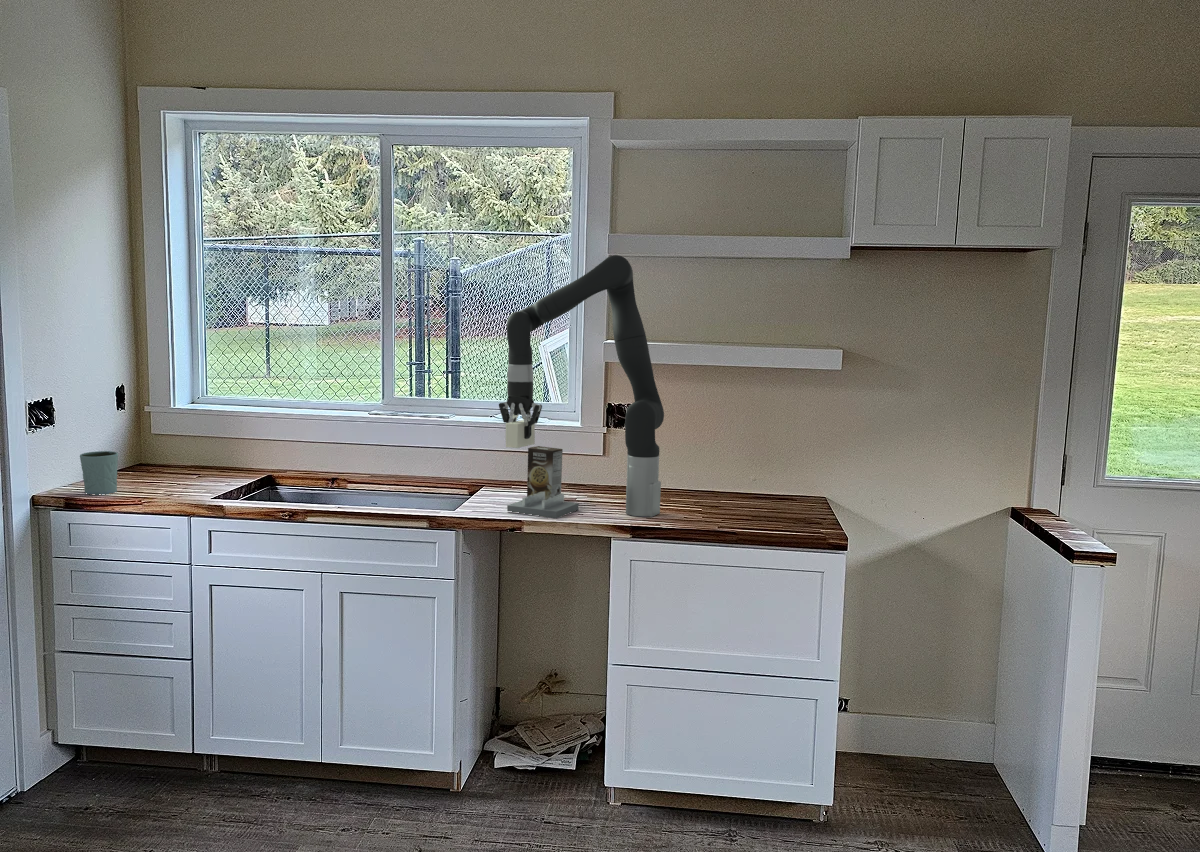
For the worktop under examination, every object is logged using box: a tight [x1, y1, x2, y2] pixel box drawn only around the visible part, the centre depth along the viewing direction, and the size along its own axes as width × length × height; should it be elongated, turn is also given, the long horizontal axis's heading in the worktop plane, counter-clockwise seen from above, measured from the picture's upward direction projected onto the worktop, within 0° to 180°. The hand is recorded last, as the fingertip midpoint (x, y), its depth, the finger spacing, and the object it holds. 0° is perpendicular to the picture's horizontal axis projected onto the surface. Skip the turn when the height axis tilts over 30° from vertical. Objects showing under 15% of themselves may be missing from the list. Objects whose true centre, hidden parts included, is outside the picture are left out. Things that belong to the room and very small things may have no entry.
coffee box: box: [526, 445, 563, 499], centre depth 296 cm, size 9×6×16 cm
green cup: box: [79, 450, 119, 496], centre depth 289 cm, size 10×10×12 cm
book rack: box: [506, 491, 580, 519], centre depth 280 cm, size 16×14×4 cm
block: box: [505, 419, 536, 449], centre depth 283 cm, size 4×10×7 cm, turn 154°
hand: (520, 437), depth 283 cm, fingers closed on block, 4 cm apart
